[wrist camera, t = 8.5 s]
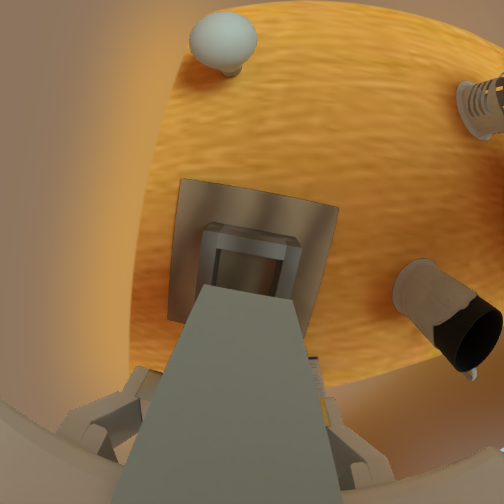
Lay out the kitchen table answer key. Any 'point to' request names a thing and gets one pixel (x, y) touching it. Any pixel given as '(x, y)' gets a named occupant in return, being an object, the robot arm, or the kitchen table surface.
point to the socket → (248, 246)
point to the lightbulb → (223, 42)
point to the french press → (481, 107)
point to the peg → (234, 413)
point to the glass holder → (448, 314)
